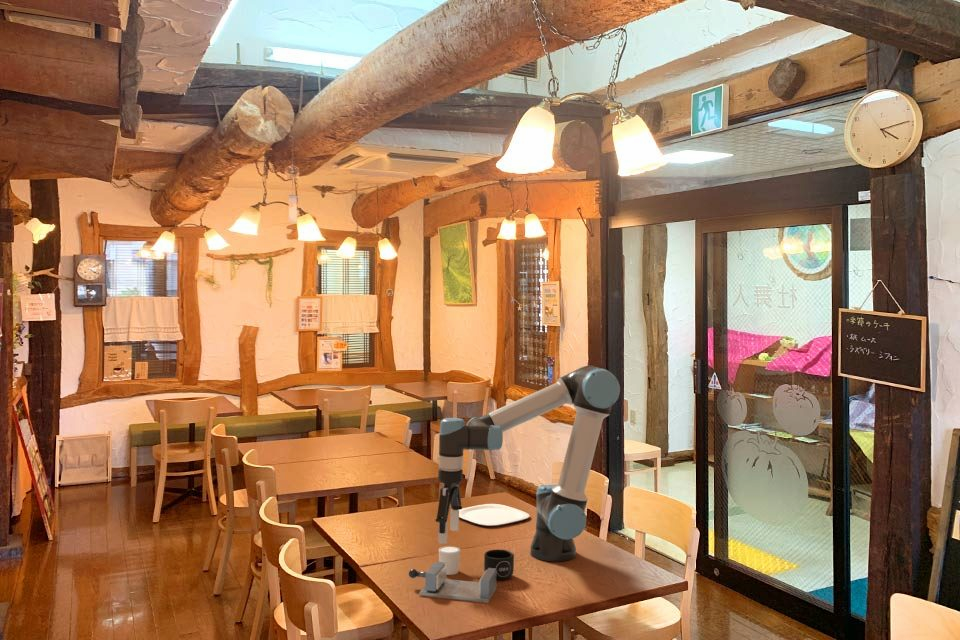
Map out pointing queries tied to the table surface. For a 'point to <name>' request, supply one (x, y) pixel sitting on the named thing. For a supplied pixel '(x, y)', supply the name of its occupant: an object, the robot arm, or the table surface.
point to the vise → (466, 588)
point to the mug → (500, 563)
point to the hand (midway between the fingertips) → (448, 536)
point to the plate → (492, 514)
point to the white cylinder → (450, 558)
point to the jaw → (432, 576)
